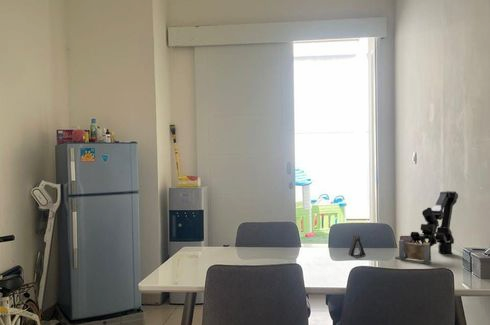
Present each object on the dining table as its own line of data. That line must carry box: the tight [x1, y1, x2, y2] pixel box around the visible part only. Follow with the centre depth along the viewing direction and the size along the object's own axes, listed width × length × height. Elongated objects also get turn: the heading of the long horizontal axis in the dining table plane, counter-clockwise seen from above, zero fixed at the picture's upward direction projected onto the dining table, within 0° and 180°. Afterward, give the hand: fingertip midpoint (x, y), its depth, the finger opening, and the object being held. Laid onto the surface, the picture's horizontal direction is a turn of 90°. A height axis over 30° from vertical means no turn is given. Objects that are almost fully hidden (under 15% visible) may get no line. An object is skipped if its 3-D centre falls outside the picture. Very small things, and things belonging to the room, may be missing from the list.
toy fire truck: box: [399, 235, 421, 247], centre depth 271 cm, size 7×12×10 cm, turn 84°
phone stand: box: [347, 233, 366, 257], centre depth 267 cm, size 9×6×12 cm, turn 89°
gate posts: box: [394, 239, 432, 265], centre depth 247 cm, size 20×7×11 cm, turn 45°
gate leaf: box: [405, 242, 432, 262], centre depth 247 cm, size 14×2×9 cm, turn 48°
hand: (424, 249), depth 245 cm, fingers closed
